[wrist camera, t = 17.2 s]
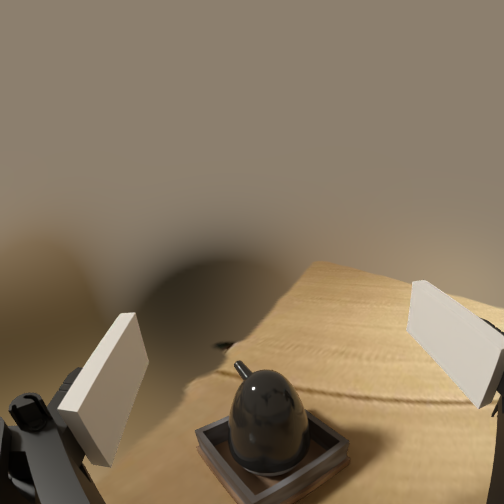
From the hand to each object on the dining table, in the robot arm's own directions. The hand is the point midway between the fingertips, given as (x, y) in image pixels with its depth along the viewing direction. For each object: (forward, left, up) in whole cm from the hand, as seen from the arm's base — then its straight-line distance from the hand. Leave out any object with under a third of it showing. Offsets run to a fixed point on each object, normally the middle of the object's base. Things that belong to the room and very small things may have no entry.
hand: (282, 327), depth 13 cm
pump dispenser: (-6, -12, -29) cm, 32 cm away
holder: (-6, -12, -30) cm, 33 cm away
